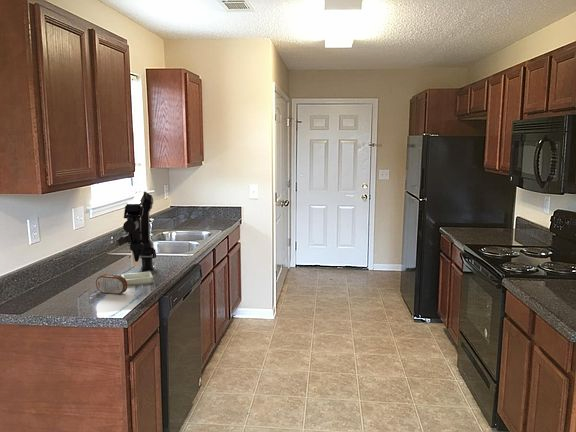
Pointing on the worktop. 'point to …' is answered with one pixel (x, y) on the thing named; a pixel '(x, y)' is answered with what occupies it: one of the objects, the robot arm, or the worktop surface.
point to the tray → (138, 278)
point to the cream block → (134, 264)
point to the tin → (111, 284)
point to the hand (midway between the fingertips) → (136, 260)
